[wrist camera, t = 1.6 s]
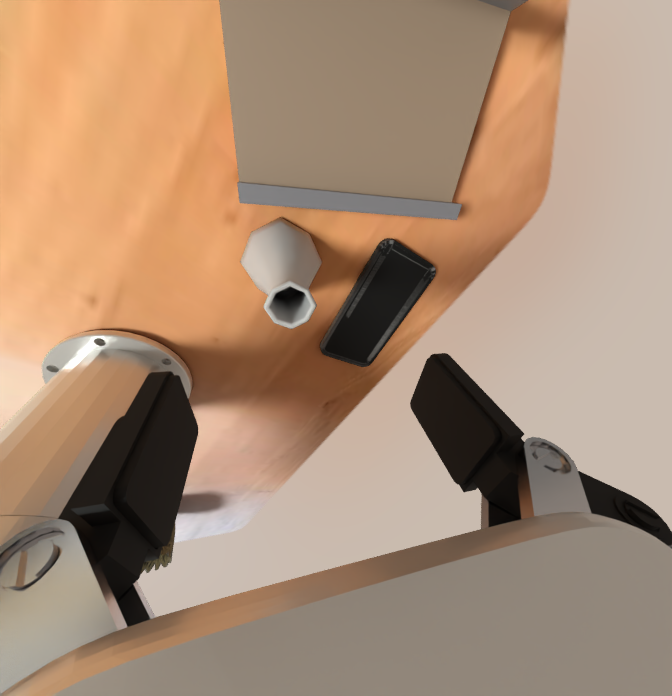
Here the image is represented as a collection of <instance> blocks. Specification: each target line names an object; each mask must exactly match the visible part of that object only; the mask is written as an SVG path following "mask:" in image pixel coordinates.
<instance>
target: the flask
mask: <svg viewBox="0 0 672 696" xmlns="http://www.w3.org/2000/svg"><path fill="white" fill-rule="evenodd" d="M240 262H241V264H242V265H243V267H244V268H245V270H246V271H247V273H248V274H249V276H250V277H251V279H252V280H253V282H254V283H255V285H256V286H257V288H258V289H259V290H261V291H263V292H264V293H266V294H267V295H268V297H267V300H266V302H265V304H264V309H265V310H266V312H267V313H268V315H269V316H270V317H271V319H272V320H273V322H274V323H276V324H279V325H282V326H284V327H287V328H290V329H293V328H295V327H297V326H299V325H301V324H303V323H305V322H308V321H309V319H310V317H311V315H312V313H313V312H314V310H315V308H316V306H317V304H316V302H315V301H314V299H313V297H312V295H311V293H310V291H309V286H310V285H311V283H312V281H313V279H314V277H315V275H316V273H317V271H318V269H319V267H320V265H321V263H322V261H321V259H320V256H319V254H318V252H317V250H316V247H315V245H314V243H313V241H312V238H311V236H310V234H309V233H307V232H305V231H304V230H302V229H300V228H298V227H297V226H295V225H293V224H291V223H290V222H288V221H286V220H284V219H283V218H281V217H279V218H278V219H276V220H274V221H272V222H270V223H268V224H266V225H264V226H262V227H260V228H258V229H256V230H254V231H252V232H251V234H250V237H249V239H248V242H247V245H246V247H245V250H244V253H243V256H242V258H241V261H240Z"/></svg>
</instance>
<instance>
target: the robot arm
mask: <svg viewBox="0 0 672 696" xmlns="http://www.w3.org/2000/svg"><path fill="white" fill-rule="evenodd" d="M42 377H43V379H44V382H45V385H44V386H43V387H42V388H41V389H40V390H39V391H38V392H37V393H36V394H35V395H34V396H33V397H32V398H31V399H30V400H29V401H28V402H27V403H26V404H25V405H24V406H23V407H22V408H21V409H20V410H19V411H18V412H17V413H16V414H15V415H14V416H13V417H12V418H11V419H10V420H9V421H8V422H7V423H6V424H5V425H4V426H3V427H2V428H1V429H0V696H672V532H671V531H670V529H669V527H668V526H667V524H666V523H665V522H664V521H663V520H662V518H661V517H660V516H659V515H658V514H657V513H656V512H655V511H654V510H653V509H651V508H650V507H649V506H647V505H646V504H644V503H643V502H642V501H640V500H638V499H637V498H635V497H633V496H631V495H629V494H627V493H625V492H623V491H620V490H618V489H616V488H614V487H612V486H610V485H607V484H605V483H603V482H601V481H599V480H597V479H594V478H592V477H590V476H588V475H586V474H584V473H582V472H580V471H578V470H577V467H576V465H575V463H574V461H573V460H572V459H571V458H570V457H569V455H568V454H567V453H565V452H564V451H563V450H562V449H561V448H559V447H558V446H556V445H555V444H553V443H551V442H549V441H547V440H545V439H541V438H536V437H531V438H528V439H527V440H526V441H525V442H524V441H523V440H522V439H521V437H522V436H523V435H524V433H523V432H522V431H521V430H520V429H519V428H518V427H517V426H516V425H515V424H514V422H513V421H511V419H510V418H509V417H508V416H507V415H506V414H505V413H504V412H503V411H502V410H501V409H500V408H499V407H498V406H497V405H496V404H495V403H494V402H493V401H492V399H491V398H490V397H489V396H488V395H487V394H486V393H485V392H484V391H483V390H482V389H481V388H480V387H479V386H478V385H477V384H476V383H475V382H474V381H473V380H472V379H471V378H470V377H469V375H468V374H467V373H466V372H465V371H464V370H463V369H462V368H461V367H460V366H459V365H458V364H457V363H456V362H455V361H454V360H453V359H452V358H451V357H450V356H449V355H448V354H445V353H442V354H433V355H431V356H430V358H428V359H427V361H426V364H425V366H424V369H423V371H422V374H421V376H420V379H419V381H418V384H417V386H416V389H415V392H414V394H413V397H412V399H411V403H410V404H411V409H412V411H413V412H414V414H415V416H416V418H417V419H418V421H419V423H420V424H421V426H422V428H423V429H424V431H425V432H426V435H427V436H428V438H429V440H430V441H431V443H432V445H433V446H434V448H435V449H436V451H437V453H438V455H439V457H440V458H441V460H442V462H443V463H444V465H445V467H446V468H447V470H448V472H449V473H450V475H451V477H452V479H453V480H454V481H455V482H456V483H457V484H459V485H460V487H461V488H462V490H463V492H467V491H472V490H476V489H477V488H479V490H480V492H481V493H482V503H481V529H480V530H477V531H473V532H469V533H465V534H461V535H458V536H453V537H450V538H446V539H442V540H438V541H434V542H431V543H427V544H423V545H419V546H415V547H411V548H408V549H404V550H400V551H396V552H392V553H389V554H385V555H381V556H377V557H374V558H370V559H366V560H362V561H359V562H355V563H351V564H347V565H343V566H340V567H336V568H332V569H328V570H325V571H321V572H317V573H313V574H310V575H306V576H302V577H299V578H295V579H291V580H288V581H284V582H280V583H276V584H273V585H269V586H265V587H261V588H258V589H254V590H250V591H247V592H243V593H240V594H236V595H232V596H228V597H225V598H221V599H218V600H214V601H211V602H208V603H204V604H201V605H198V606H194V607H190V608H187V609H183V610H180V611H177V612H173V613H170V614H166V615H163V616H159V617H155V615H154V613H153V612H152V610H151V607H150V605H149V604H148V602H147V600H146V598H145V596H144V594H143V592H142V590H141V588H140V586H139V584H138V582H137V580H138V579H139V577H140V574H141V570H142V567H143V564H144V562H147V561H152V560H156V559H159V557H160V554H161V550H162V547H164V546H167V545H168V543H169V541H170V539H171V535H172V532H173V528H174V524H175V520H176V516H177V513H178V509H179V505H180V501H181V497H182V493H183V490H184V486H185V482H186V478H187V474H188V470H189V467H190V463H191V459H192V455H193V451H194V447H195V444H196V440H197V436H198V425H197V422H196V419H195V417H194V414H193V411H192V409H191V406H190V403H189V400H188V399H189V396H190V394H191V390H192V376H191V373H190V371H189V369H188V367H187V366H186V364H185V363H184V362H183V360H182V359H181V358H180V357H179V356H178V355H177V354H175V353H174V352H173V351H171V350H170V349H169V348H167V347H166V346H164V345H162V344H160V343H158V342H157V341H154V340H152V339H149V338H147V337H144V336H141V335H137V334H133V333H129V332H123V331H115V330H95V331H88V332H82V333H79V334H76V335H72V336H70V337H68V338H66V339H64V340H63V341H61V342H59V343H58V344H57V345H56V346H55V347H54V348H52V349H51V350H50V351H49V352H48V354H47V355H46V357H45V358H44V360H43V363H42Z"/></svg>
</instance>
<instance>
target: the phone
mask: <svg viewBox="0 0 672 696" xmlns="http://www.w3.org/2000/svg"><path fill="white" fill-rule="evenodd" d="M435 274H436V269H435V267H434V266H433V265H432V264H430V263H429V262H427V261H426V260H424V259H423V258H421V257H420V256H418V255H416V254H415V253H413V252H412V251H410V250H409V249H407V248H406V247H404V246H403V245H401V244H400V243H398V242H396V241H395V240H393V239H390V238H387V239H384V240H382V241H381V242H380V243H379V244H378V246H377V248H376V249H375V251H374V253H373V254H372V256H371V258H370V260H369V261H368V263H367V264H366V266H365V268H364V269H363V272H362V273H361V274H360V276H359V278H358V279H357V282H356V283H355V285H354V287H353V289H352V290H351V292H350V294H349V295H348V297H347V299H346V301H345V302H344V304H343V306H342V307H341V309H340V311H339V313H338V314H337V316H336V318H335V319H334V321H333V323H332V325H331V326H330V328H329V330H328V331H327V333H326V335H325V336H324V338H323V340H322V342H321V344H320V348H321V351H322V353H323V354H324V355H326V356H329V357H332V358H335V359H338V360H341V361H345V362H348V363H351V364H354V365H357V366H361V367H366V366H369V365H370V364H371V363H372V362H373V361H374V359H375V358H376V357H377V355H378V354H379V353H380V351H381V350H382V348H383V347H384V346H385V344H386V343H387V342H388V340H389V339H390V337H391V336H392V335H393V333H394V332H395V331H396V329H397V328H398V326H399V325H400V324H401V322H402V321H403V320H404V318H405V317H406V316H407V314H408V313H409V311H410V310H411V309H412V307H413V306H414V305H415V303H416V302H417V300H418V299H419V298H420V296H421V295H422V294H423V292H424V291H425V289H426V288H427V287H428V285H429V284H430V283H431V281H432V280H433V278H434V277H435Z"/></svg>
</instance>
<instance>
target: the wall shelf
mask: <svg viewBox="0 0 672 696" xmlns="http://www.w3.org/2000/svg"><path fill="white" fill-rule="evenodd" d="M526 1H528V0H219V2H220V11H221V20H222V29H223V38H224V47H225V57H226V66H227V75H228V84H229V93H230V102H231V111H232V120H233V129H234V139H235V148H236V157H237V166H238V175H239V182H238V192H239V201H240V203H247V204H259V205H272V206H285V207H298V208H310V209H323V210H336V211H349V212H361V213H374V214H387V215H400V216H412V217H425V218H438V219H451V220H457V218H458V215H459V212H460V209H461V206H462V204H457V203H452V199H453V196H454V193H455V189H456V186H457V183H458V180H459V177H460V173H461V170H462V167H463V164H464V161H465V157H466V154H467V151H468V148H469V144H470V141H471V138H472V135H473V132H474V128H475V125H476V122H477V119H478V115H479V112H480V109H481V106H482V103H483V99H484V96H485V93H486V90H487V86H488V83H489V80H490V77H491V74H492V70H493V67H494V64H495V61H496V57H497V54H498V51H499V48H500V45H501V41H502V38H503V35H504V32H505V29H506V25H507V22H508V19H509V16H510V12H511V11H512V10H514V9H515V8H517V7H518V6H520V5H522V4H523V3H525V2H526Z"/></svg>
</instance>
